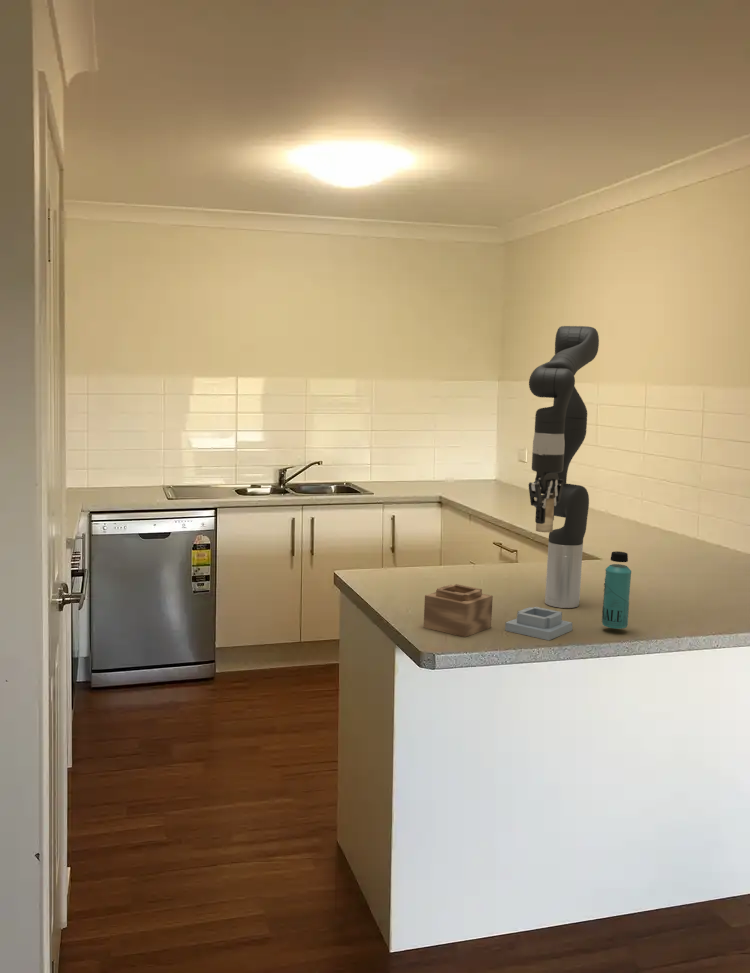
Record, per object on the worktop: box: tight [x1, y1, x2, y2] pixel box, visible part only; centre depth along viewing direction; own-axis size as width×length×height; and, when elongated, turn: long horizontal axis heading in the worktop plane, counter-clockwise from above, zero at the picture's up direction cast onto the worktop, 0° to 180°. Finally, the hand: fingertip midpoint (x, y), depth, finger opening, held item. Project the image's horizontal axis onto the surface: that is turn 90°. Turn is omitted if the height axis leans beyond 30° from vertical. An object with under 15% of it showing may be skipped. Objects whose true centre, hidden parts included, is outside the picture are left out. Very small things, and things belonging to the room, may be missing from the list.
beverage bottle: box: [601, 550, 632, 630], centre depth 236 cm, size 6×7×20 cm
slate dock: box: [504, 606, 573, 641], centre depth 235 cm, size 12×12×4 cm
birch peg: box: [535, 498, 554, 533], centre depth 232 cm, size 4×4×8 cm
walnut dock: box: [423, 583, 494, 638], centre depth 235 cm, size 12×12×10 cm
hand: (544, 521), depth 232 cm, fingers closed on birch peg, 4 cm apart
